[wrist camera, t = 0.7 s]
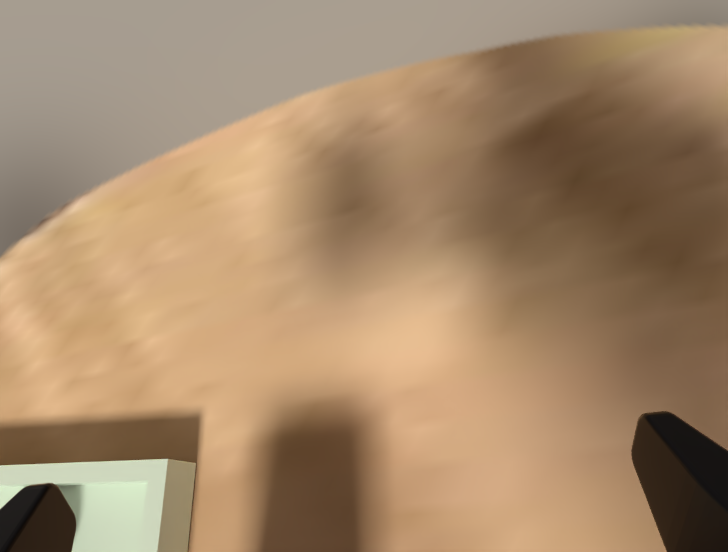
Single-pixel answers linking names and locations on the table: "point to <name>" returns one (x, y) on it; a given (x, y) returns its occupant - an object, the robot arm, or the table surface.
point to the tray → (117, 501)
